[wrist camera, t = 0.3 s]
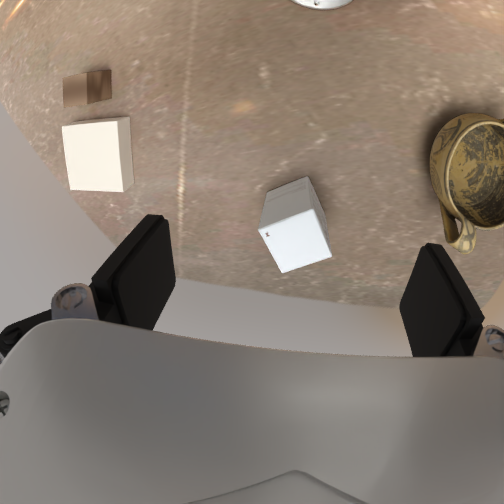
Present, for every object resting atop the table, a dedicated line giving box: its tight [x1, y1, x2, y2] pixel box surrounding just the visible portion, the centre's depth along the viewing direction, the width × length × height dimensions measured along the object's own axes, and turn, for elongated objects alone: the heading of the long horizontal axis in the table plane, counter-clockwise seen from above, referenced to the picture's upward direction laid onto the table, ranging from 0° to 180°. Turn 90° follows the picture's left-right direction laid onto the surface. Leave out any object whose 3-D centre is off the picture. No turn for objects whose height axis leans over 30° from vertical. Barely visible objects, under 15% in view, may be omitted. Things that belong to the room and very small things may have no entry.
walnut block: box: [63, 70, 112, 108], centre depth 38 cm, size 5×5×7 cm
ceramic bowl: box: [430, 113, 504, 254], centre depth 32 cm, size 22×17×15 cm
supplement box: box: [258, 176, 332, 273], centre depth 43 cm, size 7×7×13 cm
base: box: [62, 117, 134, 192], centre depth 45 cm, size 12×12×4 cm
